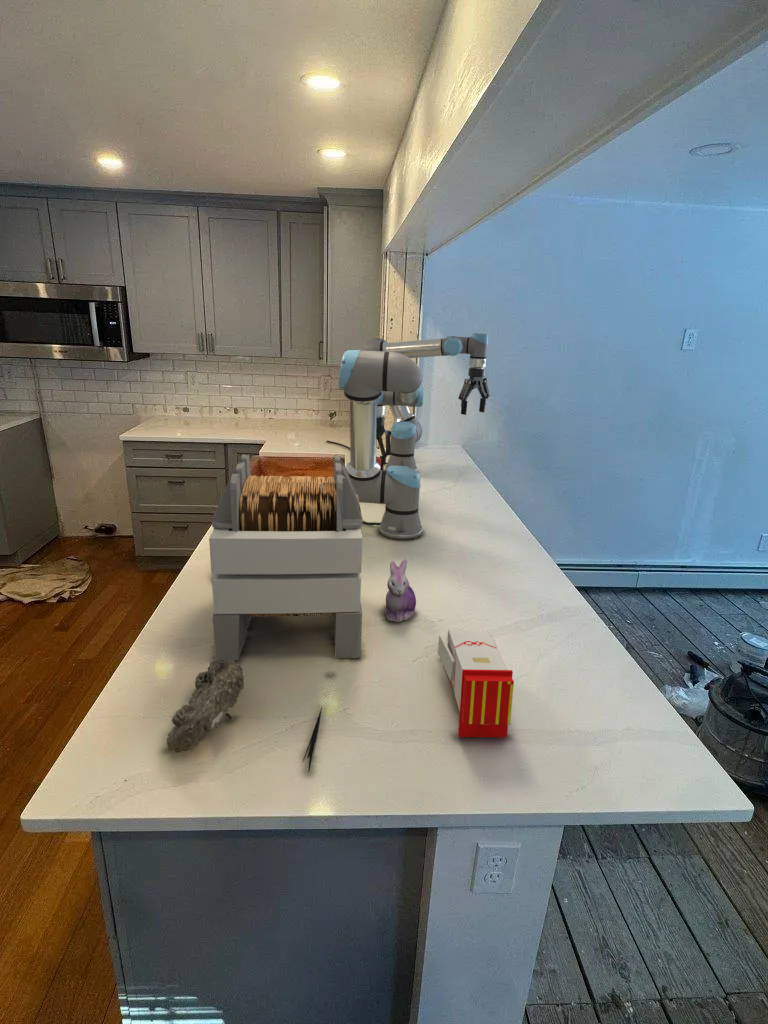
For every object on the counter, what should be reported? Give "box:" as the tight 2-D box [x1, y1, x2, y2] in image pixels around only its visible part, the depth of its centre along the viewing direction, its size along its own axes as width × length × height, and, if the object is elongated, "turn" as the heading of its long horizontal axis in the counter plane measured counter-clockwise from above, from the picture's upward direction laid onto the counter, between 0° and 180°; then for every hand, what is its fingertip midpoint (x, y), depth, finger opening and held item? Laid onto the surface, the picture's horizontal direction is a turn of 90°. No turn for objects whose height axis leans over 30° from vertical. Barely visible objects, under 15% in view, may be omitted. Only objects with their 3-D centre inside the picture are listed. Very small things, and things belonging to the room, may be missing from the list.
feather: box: [301, 673, 332, 771], centre depth 108 cm, size 2×28×2 cm
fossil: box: [166, 659, 245, 754], centre depth 106 cm, size 22×10×15 cm
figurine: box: [384, 558, 417, 623], centre depth 145 cm, size 9×10×15 cm
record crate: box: [208, 453, 364, 661], centre depth 135 cm, size 34×33×41 cm
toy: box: [437, 628, 515, 738], centre depth 117 cm, size 12×13×30 cm
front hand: (372, 472), depth 230 cm, fingers closed on canister, 6 cm apart
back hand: (472, 413), depth 272 cm, fingers open, 13 cm apart
